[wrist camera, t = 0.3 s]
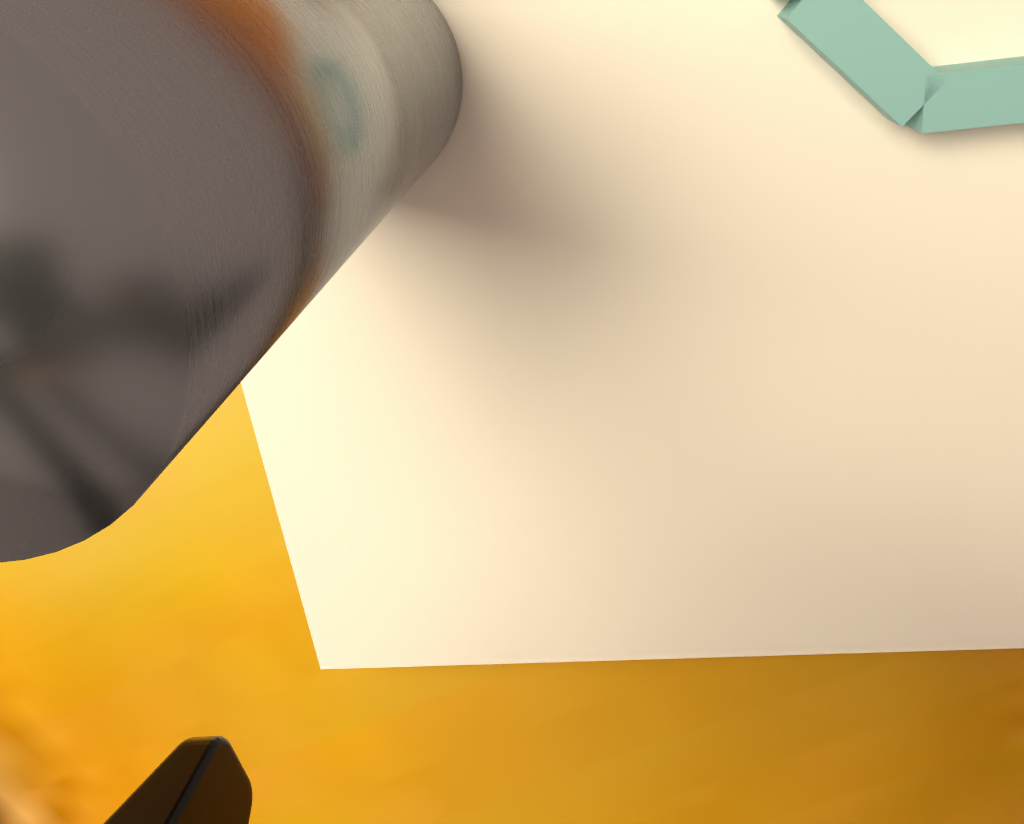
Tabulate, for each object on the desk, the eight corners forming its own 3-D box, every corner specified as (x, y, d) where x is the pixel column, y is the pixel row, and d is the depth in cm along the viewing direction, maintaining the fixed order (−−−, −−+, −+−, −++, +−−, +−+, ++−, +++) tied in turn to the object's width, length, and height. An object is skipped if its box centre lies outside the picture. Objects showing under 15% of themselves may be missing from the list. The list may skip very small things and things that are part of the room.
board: (1229, 588, 23) (1310, 669, 21) (339, 622, 27) (310, 695, 24) (1607, -765, 13) (1872, -957, 10) (66, -433, 16) (-41, -513, 13)
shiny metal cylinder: (476, 180, 18) (258, 550, 7) (272, 201, 19) (-250, 574, 7) (443, -61, 16) (58, -121, 5) (217, -28, 17) (-604, -13, 5)
